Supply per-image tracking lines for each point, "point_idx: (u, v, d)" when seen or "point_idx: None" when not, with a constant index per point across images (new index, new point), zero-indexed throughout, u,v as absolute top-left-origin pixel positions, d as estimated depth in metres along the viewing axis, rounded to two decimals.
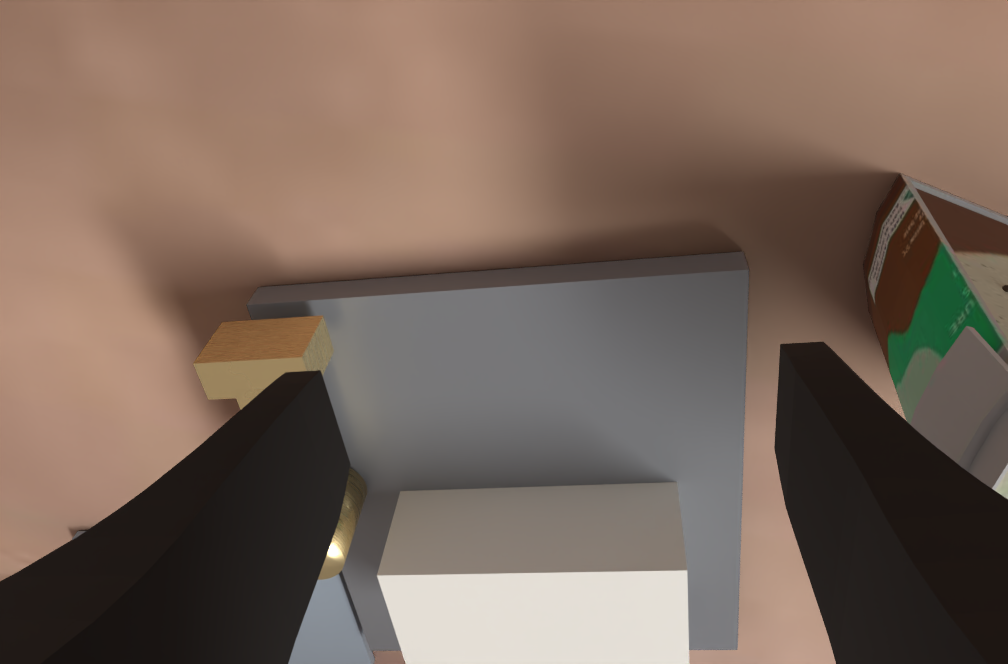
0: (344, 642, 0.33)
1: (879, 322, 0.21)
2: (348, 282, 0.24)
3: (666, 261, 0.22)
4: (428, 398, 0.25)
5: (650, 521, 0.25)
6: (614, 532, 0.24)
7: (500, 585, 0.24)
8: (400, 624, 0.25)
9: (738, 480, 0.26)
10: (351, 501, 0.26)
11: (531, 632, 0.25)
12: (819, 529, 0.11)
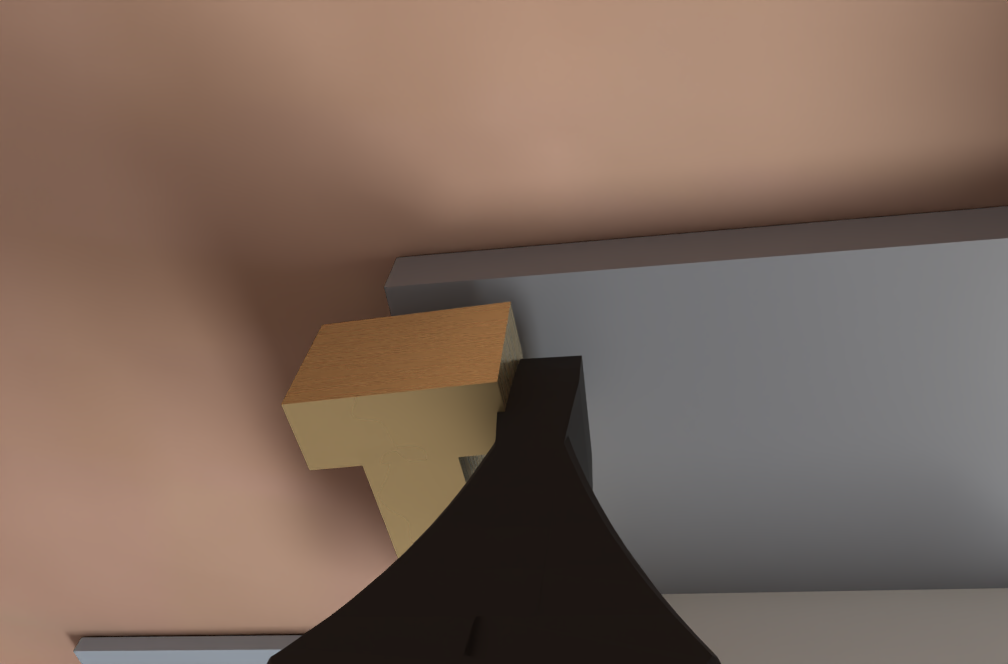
0: None
1: None
2: (564, 247, 0.13)
3: None
4: (687, 449, 0.14)
5: None
6: None
7: None
8: None
9: None
10: None
11: None
12: None
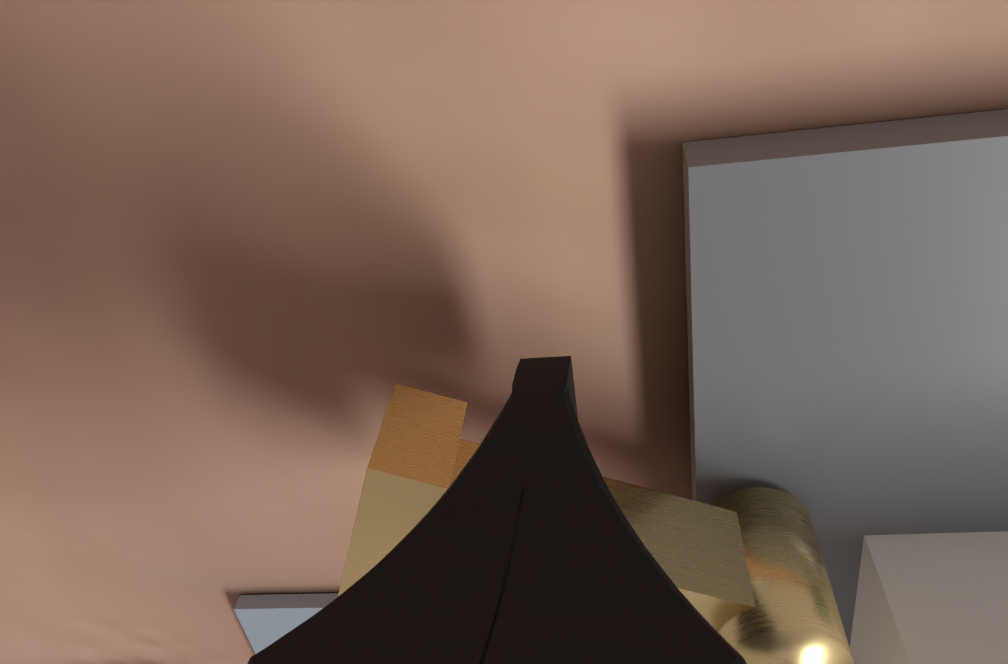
0: None
1: None
2: (884, 124, 0.12)
3: None
4: (999, 360, 0.13)
5: None
6: None
7: None
8: None
9: None
10: (763, 536, 0.13)
11: None
12: None
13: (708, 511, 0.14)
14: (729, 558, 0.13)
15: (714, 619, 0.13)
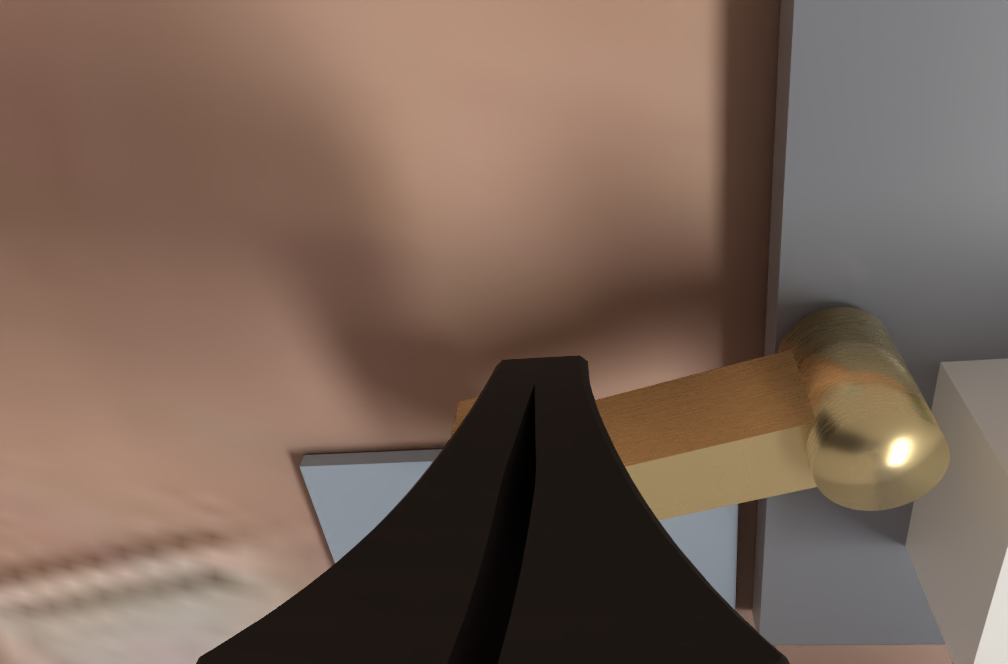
0: None
1: None
2: None
3: None
4: None
5: None
6: None
7: None
8: None
9: None
10: (814, 357, 0.14)
11: None
12: None
13: (762, 362, 0.15)
14: (786, 392, 0.14)
15: (794, 450, 0.13)
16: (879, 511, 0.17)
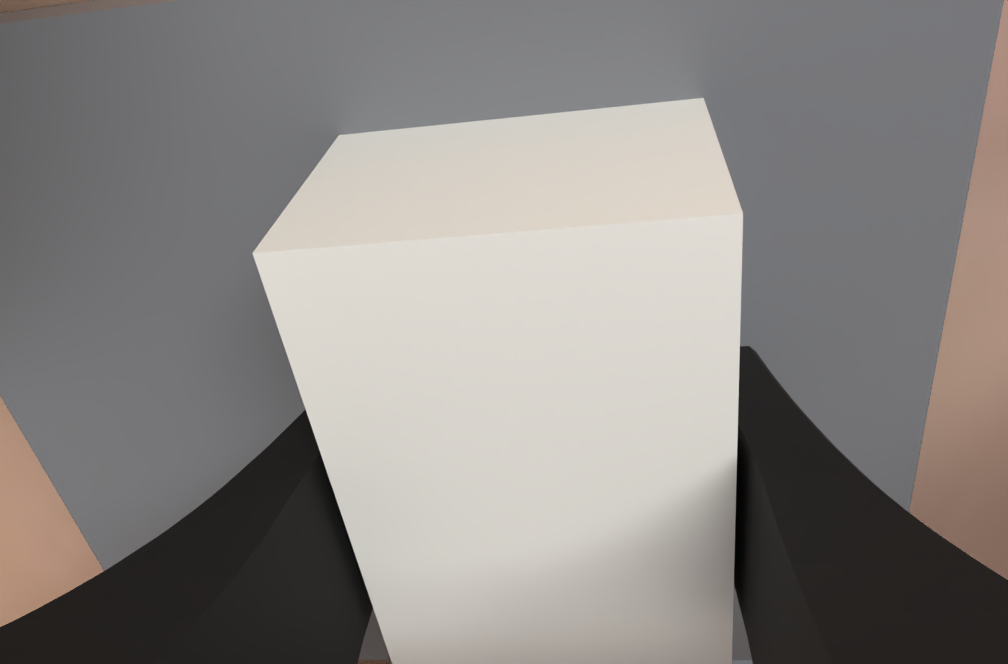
0: None
1: None
2: None
3: None
4: None
5: None
6: None
7: (402, 588, 0.11)
8: None
9: None
10: None
11: (552, 554, 0.11)
12: (737, 530, 0.11)
13: None
14: None
15: None
16: None
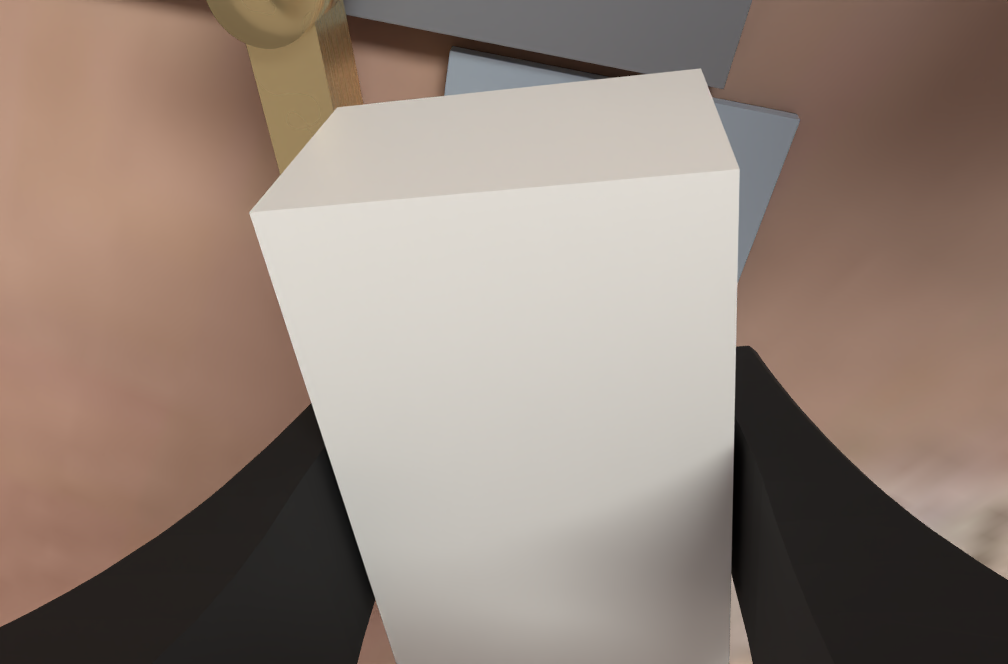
0: None
1: None
2: None
3: None
4: None
5: None
6: None
7: (398, 562, 0.11)
8: None
9: None
10: None
11: (549, 525, 0.11)
12: (736, 530, 0.11)
13: None
14: None
15: (273, 50, 0.15)
16: None
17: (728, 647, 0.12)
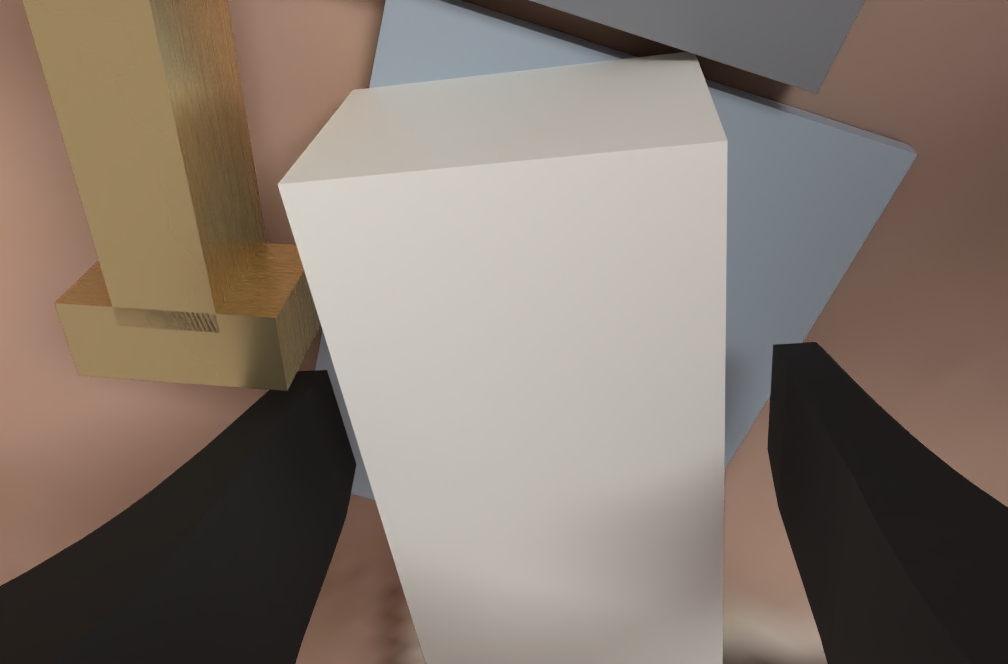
0: (786, 168, 0.12)
1: None
2: None
3: None
4: None
5: None
6: None
7: (413, 515, 0.12)
8: (555, 656, 0.14)
9: None
10: None
11: (554, 478, 0.11)
12: (810, 529, 0.11)
13: None
14: None
15: None
16: None
17: (722, 595, 0.12)
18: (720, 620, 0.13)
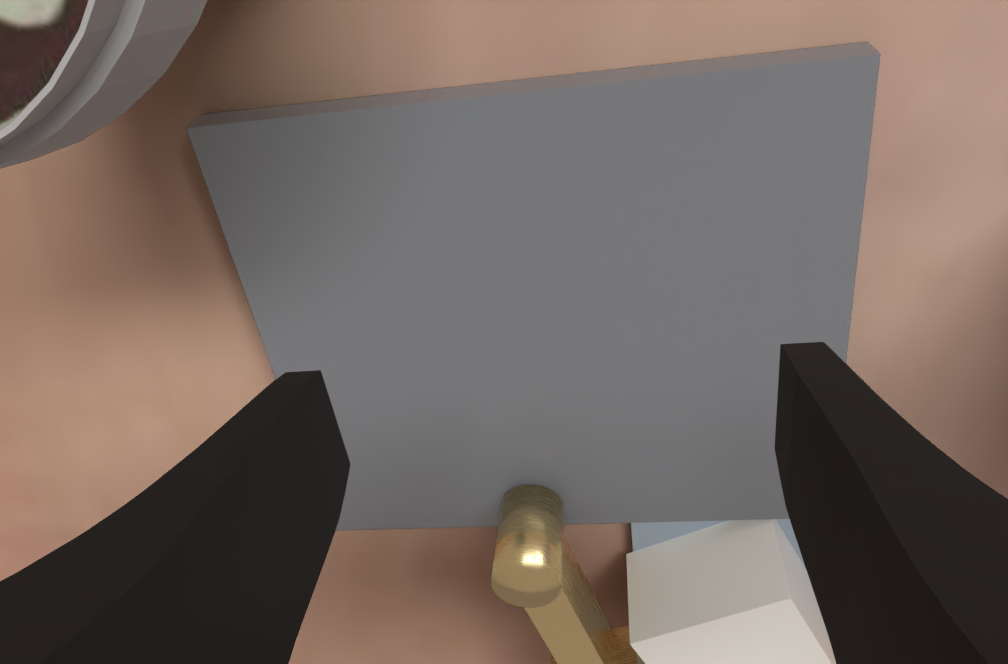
0: None
1: None
2: None
3: None
4: (409, 417, 0.24)
5: None
6: None
7: None
8: None
9: (491, 100, 0.19)
10: None
11: None
12: (818, 529, 0.11)
13: None
14: None
15: None
16: (673, 466, 0.24)
17: None
18: None
